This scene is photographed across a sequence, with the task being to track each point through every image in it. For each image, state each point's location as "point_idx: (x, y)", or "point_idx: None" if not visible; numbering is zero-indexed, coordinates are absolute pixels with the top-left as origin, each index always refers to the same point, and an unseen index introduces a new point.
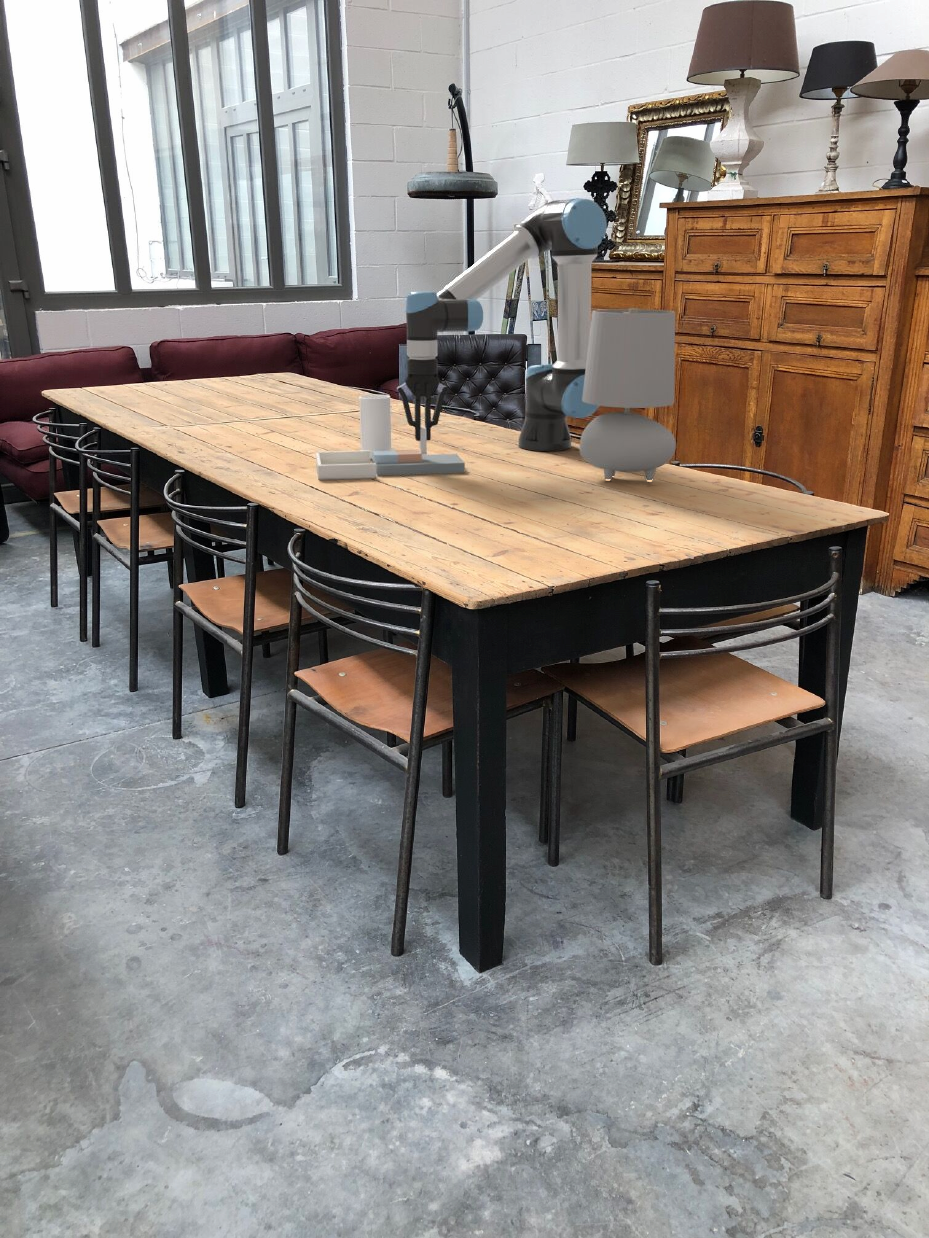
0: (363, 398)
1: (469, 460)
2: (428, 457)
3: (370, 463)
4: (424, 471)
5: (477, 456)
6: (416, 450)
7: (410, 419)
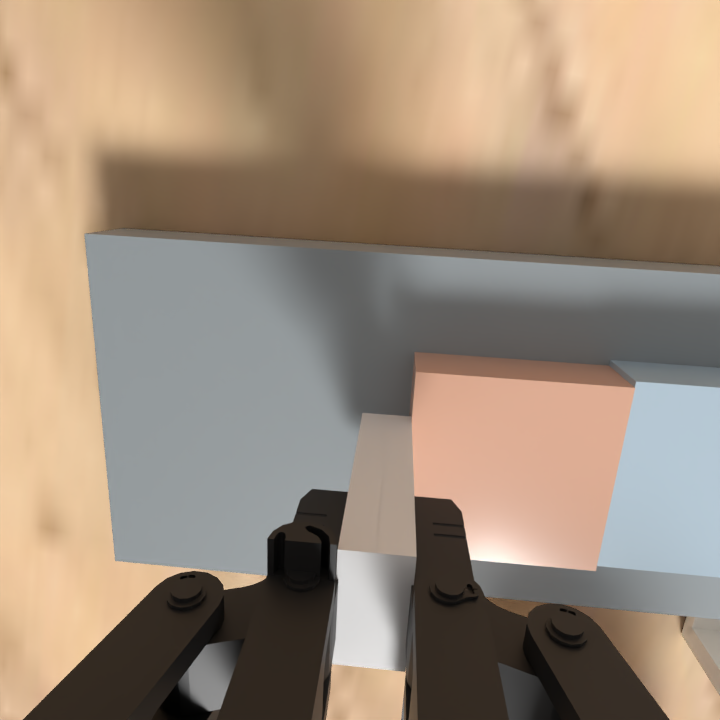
0: None
1: (61, 585)
2: None
3: None
4: (413, 248)
5: (8, 669)
6: None
7: (598, 686)
